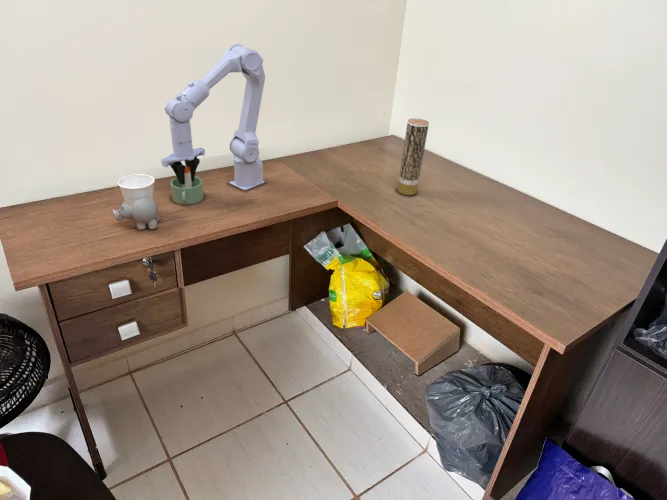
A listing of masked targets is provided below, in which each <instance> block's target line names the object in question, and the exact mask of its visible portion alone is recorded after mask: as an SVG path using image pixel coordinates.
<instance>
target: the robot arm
mask: <svg viewBox="0 0 667 500" xmlns="http://www.w3.org/2000/svg"><path fill="white" fill-rule="evenodd" d="M263 64H264V59H263V57H262V56H261V55H260V54H259V52H258V51H257V50H255V49H251V48H249V47H246V46H244V45H242V44H240V43H236V44H233V45H231V46H230V48H229V49H226V51H224V53H223V55H222V57H221V58H220V59H219V60H218V61H217V62H216V63H215V64H214V65H213V67H212V68H211V69H210V70H209V71H208V72H207V73H206V74H205V75H204V76H203V78H202V79H199V80H197V79H194V80H193V81H191V80H190V81H189V82H188V83H187V85H188V86H187V87H185V88H184V89H183V90H182V91H181V92H180V93H177V94H176V95H175V96H176V97H174V98H170V99H169V100H167V102H166V105H165V107H164V111H165V113H166V114H167V116H168V117H169V124H170V125H169V126H170V136H171V137H170V138H171V145H172V152H173V153H171V154H169V155H168V156H166V157H164V158H161V159H160V161H161V166H162V167H165V168H168V167H169V166H170V167H171V169H172V170H173V172H174V175H175V176H176V178H178V181H179V183H180V184H182V185H184V184H185V176H184V172H185V167H186V166H187V167H190V171H191V181H194V177H195V176H196V172H197V169H198V167H199V165H200V163H201V160H200V158H199V157H200V156H202V157H203V156H206V151H205V150H206V149H205V148H203V147H197V148H194V147H193V137H192V128H191V127H192V125H191V120H192V118H193V116H194V112H195V110H196V109H197V108H198V107H199V106H200V105H201V104H202V103H203V102H204V101H205V100H206V99H208V98H209V97H210V90H211V89H212V88H213V87H215V86H216V85H217V84H218V83H219V82H221V81H222V80H223V79H224V78H225V77H226V76H228V75H229V74H230V73H241V74H242V75H243V77H244V79H246V81H245V88H244V94H243V100H242V106H241V111H240V112H241V113H240V119H239V125H238V129H237V130H235V131H234V132H233V136H232V139H231V140H230V142H229V151H230V152H231V154H233V174H234V180H231V181H229V185H230V186H231V185H232V186H234V187H235V188H238V189H240V190H243V191H248V190H250V189H253V188H255V187H258V186H260V185H263V184H265V180H264V164H263V162H262V160H261V158H260V157H259V156H260V150H259V149H260V148H259V144H260V143H259V139H258V136H257V134H256V132H257V127H258V122H259V121H258V120H259V115H260V108H261V104H262V98H263V92H264V86H265V82H266V74H265V70H264V66H263ZM182 162H184V164H185V165H184V164H183V163H182Z"/></svg>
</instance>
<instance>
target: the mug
mask: <svg viewBox="0 0 667 500" xmlns="http://www.w3.org/2000/svg"><path fill="white" fill-rule="evenodd" d="M170 191H171V197H172V201H173V202H174V203H176V204H179V205H183V206H186V205H195V204H198V203H200V202H202V201H203V200H204V198H205V197H204V196H205V195H204V183H203V180H202V178H200V177H199V176H196V175H195V177H194V181H192V187H191V188H182V184H180V183H179V181H178V178H177V177H174V178H173V179H171V181H170Z"/></svg>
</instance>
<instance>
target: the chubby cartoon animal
mask: <svg viewBox="0 0 667 500" xmlns="http://www.w3.org/2000/svg"><path fill="white" fill-rule="evenodd" d="M112 213H113V215H114V219H115V220H117V221H119V222H122V221H124V220H129V219H131V218H132V219H134V221H136V229H137V230H138V231H143V230H146V229H147V228H148V229H149V230H150V231H151V230H156V229H157V228H158V227H159V226H157V225H158V222H160V216H159V208H158V205H157V204H156V202H155V201H154V200H153V201H152V200H151V199H148V198H139V199H137V200H135V201H134V202H133V204H132V205H129V204H126V202H125V200H122V204H121V205H120V206H119V207H118V209H116V210H115V208H112ZM157 220H158V221H157ZM144 226H146V227H144ZM148 226H149V227H155V226H157V227H155V228H149V227H148ZM137 227H144V228H137Z"/></svg>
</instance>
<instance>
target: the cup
mask: <svg viewBox="0 0 667 500" xmlns="http://www.w3.org/2000/svg"><path fill="white" fill-rule="evenodd" d="M155 181H156V179H155V178H154V177H153V176H152V175H149V174H144V173H136V174H135V173H134V174H129V175H125V176H123V177H121V178H120V179H119V180H117V185H118V187H119V189H120V192H121V194H122V196H123V199H124V201H125V203H126V204H129V205H132V204H133V202H134V201H135V200H137V199H139V198H148V199H151V200H152V201H154V192H155Z"/></svg>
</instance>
